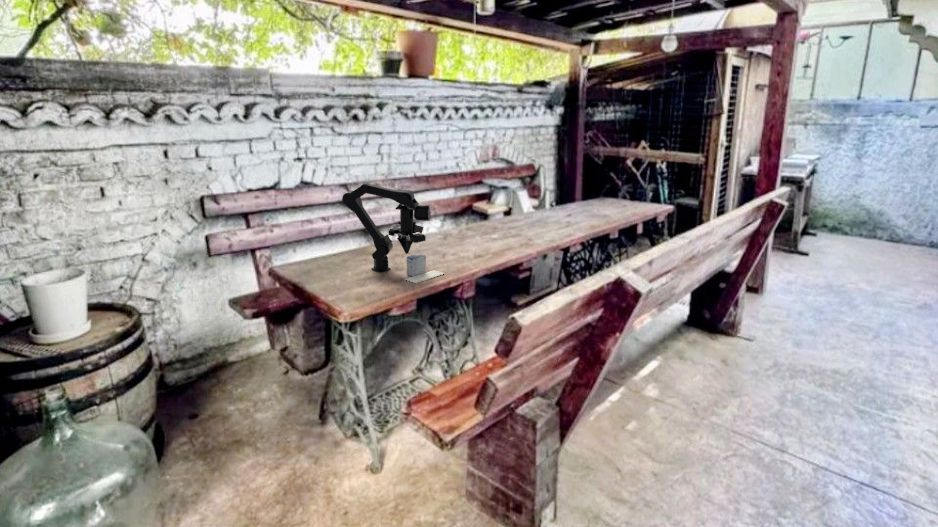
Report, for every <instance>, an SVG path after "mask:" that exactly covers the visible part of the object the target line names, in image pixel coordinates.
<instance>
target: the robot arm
mask: <svg viewBox="0 0 938 527" xmlns="http://www.w3.org/2000/svg"><path fill="white" fill-rule="evenodd" d="M365 194H367V195H368V194H370V195H372V196H376V197H381V198H386V199H390V200H393V201H395V202H396V203H398V205H397V206H396V207H395V210H400V213H399V214H400V217H399V219H400V220H399V221H398V225H399V226H400V227H392V228H389V230H388V234H383V233H382V232H381V230H380V229H379V228H378V226H377V225H376V224H375V222H374V221H373V220H372V218H371V216H370V215H369V214H368V212H367V211H366V209H365V208H364V206H363V201H362V199H361V197H363V196H364V195H365ZM341 201H342V203H343V204H344V206H346V208H347V209H349V210H350V211H352V212H353V213H354V214H355V216H356V217H357V218H358V220H359V222H360V223H361V224H362V225H363V227H364V228H365V230H366V232H368V234H369V236H370V237H371V239H372V241H373V244H374V248H375V251H374V252H373V253H371V256H372V259H373V267H371V270H373V271H375V272H379V273H383V272H385V271H389V270H391V269H392V268H391V267H389V257H388V254H389V253H390V252H391V251H392V250H393V246H394V244H393V240H392V239H391V238H390V236H392V237H394V236H395V235H397V236H398V237H397V238H396V239H397V241H398V242H399V244H400V245H401V247H402V250H403V251H404V253H405V255H406V254H409V253H410V250H411V247H412V244H413V243H415V244H418V243H421V242H426V238H427V237H426V235H425V234H423V232H424V228H425V227H424V226H421V225H417V222H416V221H422V222H423V221H424V222H426V221H427V222H430V220H431V217H432V214H431V213H432V212H431V207H430V205H429V204H425V205H424V204H423V205H422V204H419V202H418V200H417V199H416V198H415V193H414V192H413V191H412V190H410V189H409V190H408V189H393V188H389V187H388V188H387V187H384V186H379V185H375V184H371V183H368V182H365V183H363V184H360V186H359V187H358V188H356V189H354V190H350V191H348V192H346V193H344V194H343V195H342V197H341ZM414 219H416V221H414Z"/></svg>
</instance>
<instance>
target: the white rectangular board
mask: <svg viewBox="0 0 938 527" xmlns="http://www.w3.org/2000/svg"><path fill="white" fill-rule="evenodd" d="M443 274H444V275H445V274H446V273H445V272H442V271H438V270H436V269H433V270H431V271H427V272H426V273H423V274H420V275H417V276H414V277H411V276H409V277H407V278H405V279H404V281H406V280H407V281H406V282H409V281H410V282H409V283H411V282H413V283H412V284H414V283H416V284H419V283H418V282H420V283H422V282H421V281H423V282H425V280H426V281H428V279H429V280H432V279H434V277H435V278H437V276H438V277H441V276H444V275H443ZM440 275H441V276H440ZM431 278H432V279H431Z"/></svg>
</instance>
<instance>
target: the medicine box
mask: <svg viewBox="0 0 938 527" xmlns="http://www.w3.org/2000/svg"><path fill="white" fill-rule="evenodd" d="M426 268H427V256H426V255H425V254H422V253H416V254H412V255H409V256H406V275H407V276H408V275H409V277H411V276H412V277H414V276H417V275H420V274H423V273H427V272H426V271H427V270H426Z"/></svg>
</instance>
